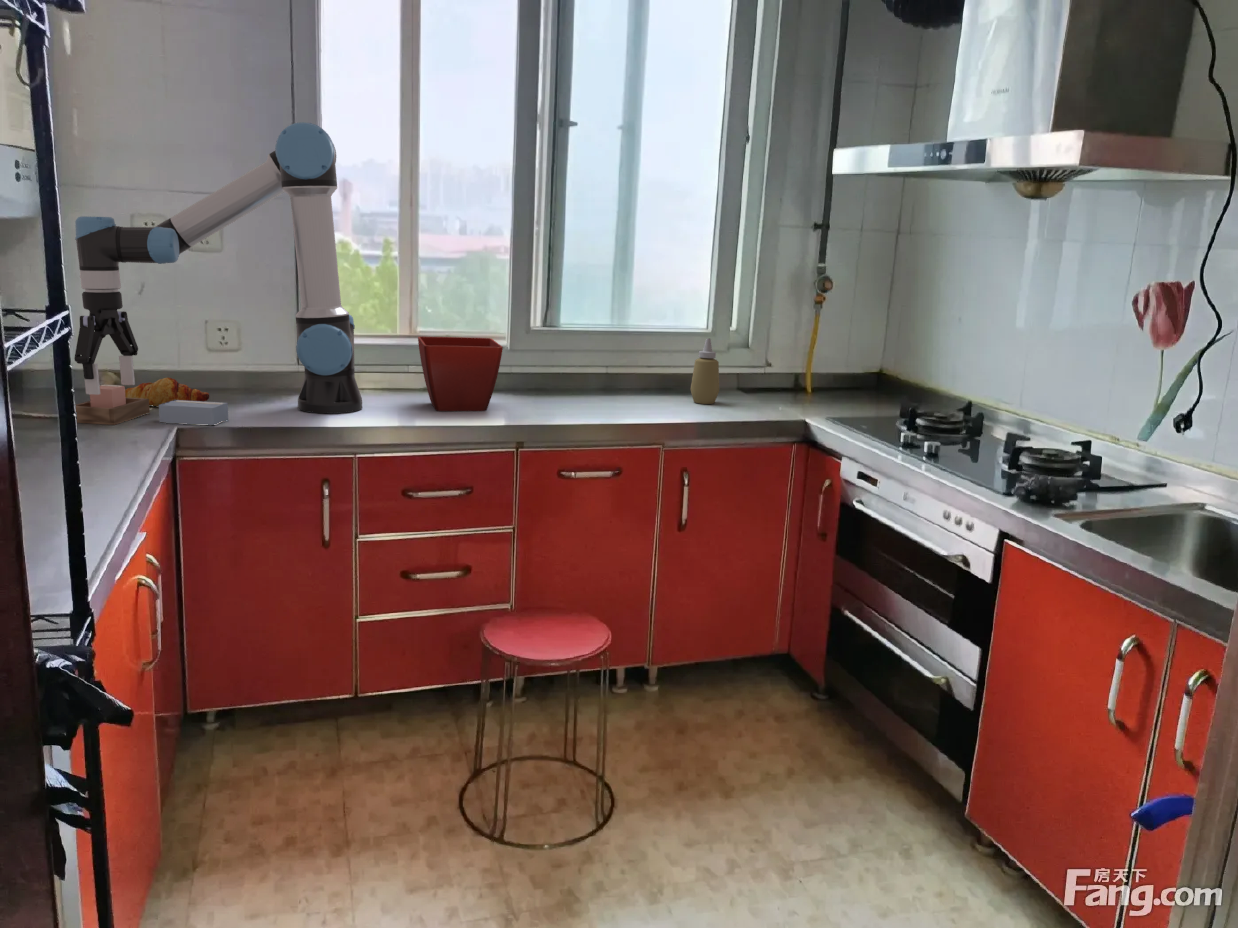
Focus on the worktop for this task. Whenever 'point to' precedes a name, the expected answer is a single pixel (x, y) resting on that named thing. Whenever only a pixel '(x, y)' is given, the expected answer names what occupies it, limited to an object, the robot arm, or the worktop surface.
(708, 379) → the squeeze bottle
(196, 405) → the grey flat block
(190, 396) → the croissant
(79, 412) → the tray
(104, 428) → the worktop surface
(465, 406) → the plant pot
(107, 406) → the pink block
